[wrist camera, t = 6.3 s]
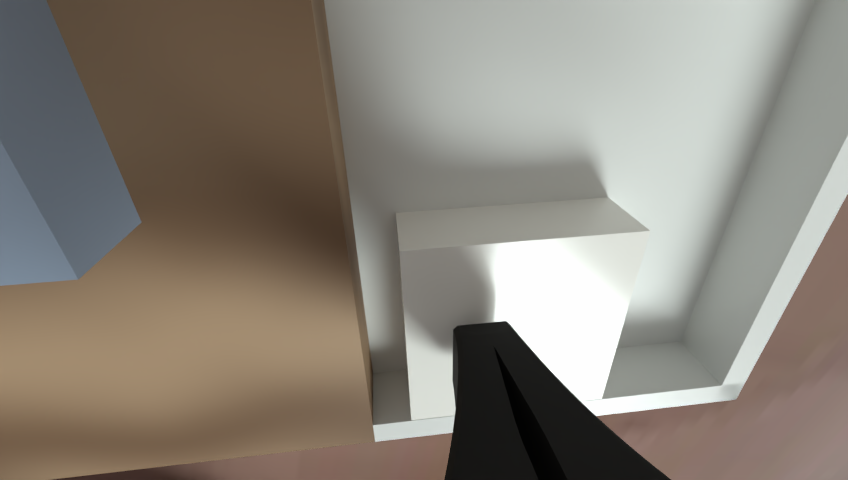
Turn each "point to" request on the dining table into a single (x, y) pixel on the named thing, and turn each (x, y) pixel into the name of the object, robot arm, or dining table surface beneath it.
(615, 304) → the tile white
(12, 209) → the tile blue
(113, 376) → the board
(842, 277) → the dining table surface
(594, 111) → the tray
